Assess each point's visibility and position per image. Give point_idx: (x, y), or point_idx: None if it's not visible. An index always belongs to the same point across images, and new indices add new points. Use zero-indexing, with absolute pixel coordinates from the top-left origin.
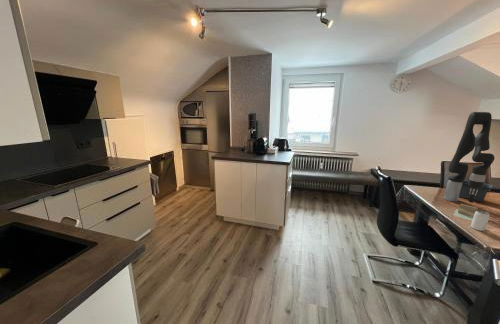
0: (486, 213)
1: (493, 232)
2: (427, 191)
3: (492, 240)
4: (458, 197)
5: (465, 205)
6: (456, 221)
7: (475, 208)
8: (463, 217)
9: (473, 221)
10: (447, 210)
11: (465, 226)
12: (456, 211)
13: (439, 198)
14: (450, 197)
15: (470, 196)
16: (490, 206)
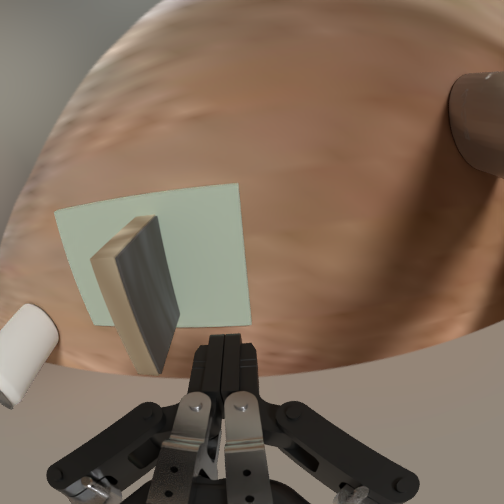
0: (3, 399)
1: (71, 364)
2: (496, 2)
3: None
4: (500, 176)
5: (108, 303)
6: (15, 246)
7: (134, 361)
8: (81, 265)
9: (3, 327)
10: (133, 140)
11: (11, 285)
12: (158, 202)
13: (441, 43)
14: (472, 113)
15: (141, 418)
16: (481, 316)
